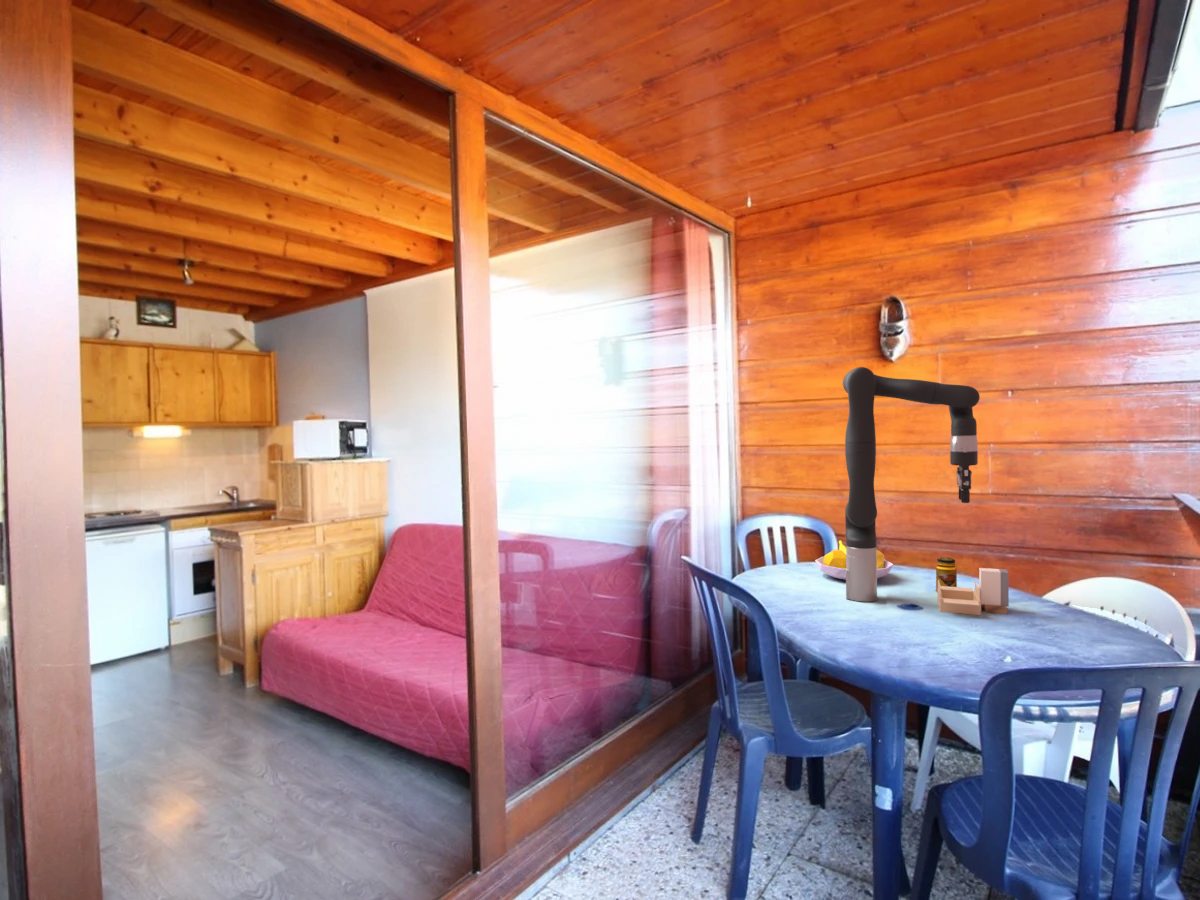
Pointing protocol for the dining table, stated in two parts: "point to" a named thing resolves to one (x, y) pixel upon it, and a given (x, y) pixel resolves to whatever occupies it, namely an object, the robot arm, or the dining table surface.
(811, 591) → the dining table surface
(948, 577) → the condiment
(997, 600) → the box
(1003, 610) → the stand
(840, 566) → the fruit bowl
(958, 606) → the wooden tray
